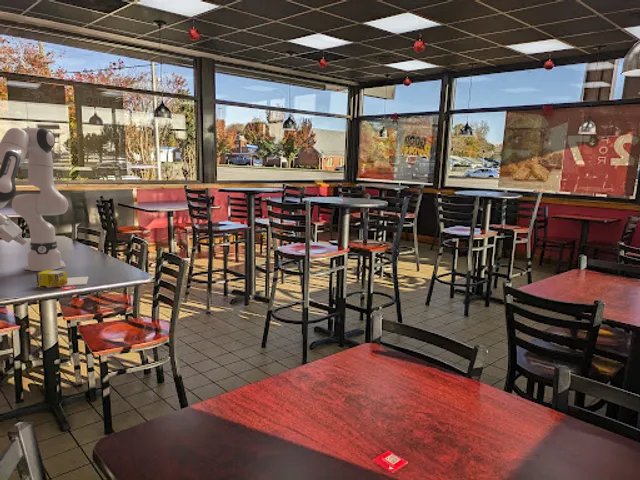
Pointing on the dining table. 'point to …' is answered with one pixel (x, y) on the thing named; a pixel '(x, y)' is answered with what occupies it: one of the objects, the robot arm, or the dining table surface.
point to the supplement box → (51, 278)
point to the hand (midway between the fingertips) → (25, 243)
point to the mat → (74, 281)
